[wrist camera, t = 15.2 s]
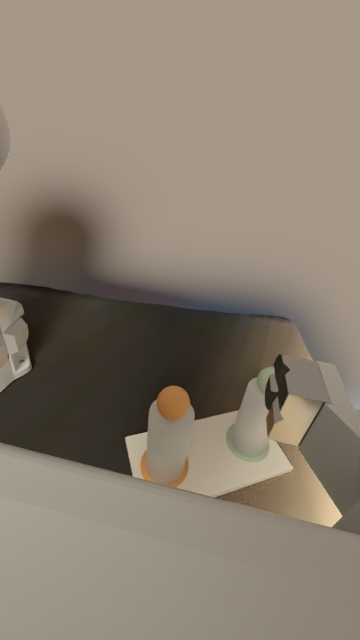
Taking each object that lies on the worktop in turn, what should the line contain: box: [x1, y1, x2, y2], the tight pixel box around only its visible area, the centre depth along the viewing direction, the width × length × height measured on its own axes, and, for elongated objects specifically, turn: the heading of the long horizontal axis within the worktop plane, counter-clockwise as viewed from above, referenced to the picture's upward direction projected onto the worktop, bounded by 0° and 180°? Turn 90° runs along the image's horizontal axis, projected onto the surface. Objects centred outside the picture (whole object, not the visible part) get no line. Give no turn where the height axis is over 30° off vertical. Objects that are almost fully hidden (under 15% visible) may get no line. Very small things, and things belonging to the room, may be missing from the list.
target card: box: [125, 410, 293, 497], centre depth 37 cm, size 10×20×1 cm, turn 109°
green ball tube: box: [230, 367, 275, 457], centre depth 35 cm, size 5×5×13 cm
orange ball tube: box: [146, 386, 195, 484], centre depth 31 cm, size 5×5×13 cm
